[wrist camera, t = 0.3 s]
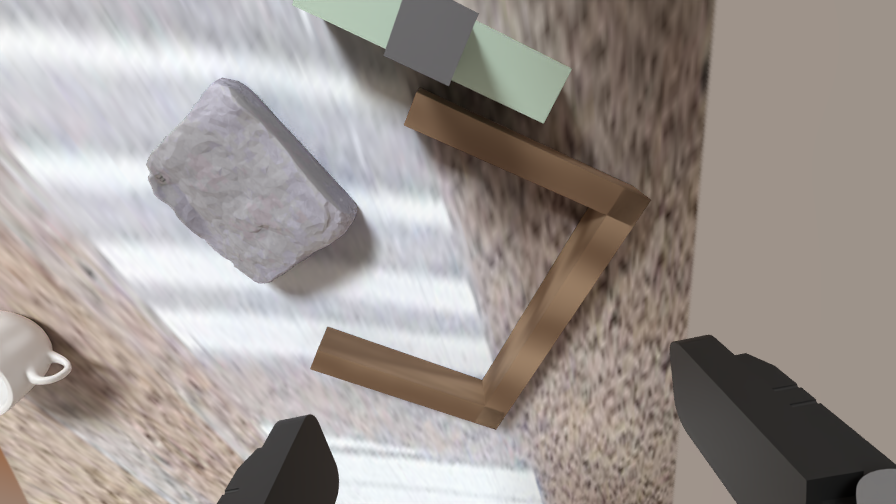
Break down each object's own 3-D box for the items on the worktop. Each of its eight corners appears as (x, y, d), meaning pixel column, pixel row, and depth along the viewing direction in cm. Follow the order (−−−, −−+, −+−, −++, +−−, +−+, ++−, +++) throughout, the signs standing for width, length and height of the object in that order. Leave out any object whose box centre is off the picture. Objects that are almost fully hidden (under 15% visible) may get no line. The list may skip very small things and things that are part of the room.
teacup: (-17, 364, 37) (-88, 412, 32) (-44, 288, 34) (-127, 329, 29) (104, 381, 38) (53, 430, 33) (90, 309, 35) (31, 352, 30)
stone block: (290, 268, 35) (374, 204, 31) (258, 304, 31) (348, 237, 27) (171, 153, 32) (245, 62, 27) (116, 177, 28) (193, 75, 23)
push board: (320, 12, 26) (224, -13, 15) (334, -44, 24) (243, -115, 14) (528, 111, 28) (577, 152, 17) (551, 64, 27) (620, 78, 16)
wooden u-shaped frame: (419, 87, 27) (416, 92, 25) (632, 186, 30) (651, 200, 27) (320, 344, 36) (310, 369, 33) (492, 402, 39) (495, 429, 36)
